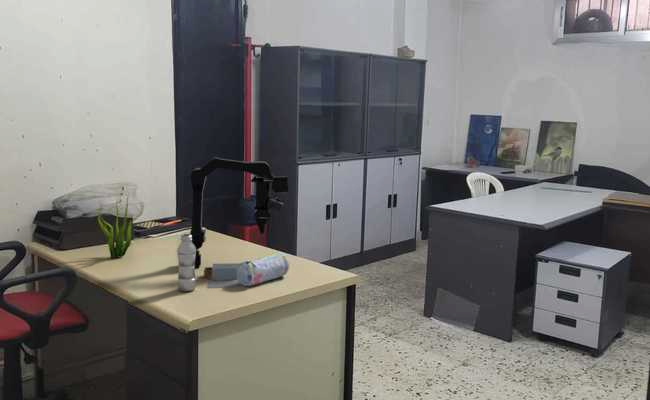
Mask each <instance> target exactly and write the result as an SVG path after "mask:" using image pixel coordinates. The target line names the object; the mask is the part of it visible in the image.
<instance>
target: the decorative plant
mask: <svg viewBox="0 0 650 400" xmlns="http://www.w3.org/2000/svg"><path fill="white" fill-rule="evenodd" d="M129 195H130V193H128V195H127V197H126V205H125V212H124V218H123V225H122V226H121V227H120V228H119V209H118V198H117V196H116V203H115V206H116V219H115V230H116V231H114V227H113V226H112V225H111V224H110V223H108V222H107V220H104V218H103V217H102V214H101V212H102V211H103V207H102V203H101V202H99V203H100V208H101V209H100V211H99V212H98V213H97V222H98V225H99V226H100V229H101V231H102V233H104V235H105V236H106V238H107V244H108V249H109V254H110V258H114V259H118V258H122V257H124V256H125V254H126V253H127V251H128V249H129V248H130V246H131V245H132V244H131V243H132V236H131V235H132V233H131V232H132V231H131V230H132V225H133V222H134V221H135V220H136V219H138V218H139V217H140V216H141V215H142V213H143V210H141V212H140V214H138V216H136V217H133V219H131V220H130V221H129V222H128V226H127V215H128V204H129ZM141 209H143V206H142V207H141ZM102 221H103V222H102ZM103 223H104V224H103ZM107 226H108V227H109V228H110V229H109V231H110V232H109V231H108V229H107ZM126 228H127V229H126ZM125 231H126V239H124V238H125V237H124V234H125ZM115 232H116V234H115ZM114 235H115V237H116V240H114ZM124 240H125V241H124Z"/></svg>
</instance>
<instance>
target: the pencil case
mask: <svg viewBox="0 0 650 400" xmlns="http://www.w3.org/2000/svg"><path fill="white" fill-rule="evenodd" d="M289 267H290V262H289V260H288V258H287V256H286V255H284V253H281V252H278V253H276V254H273V255H272V254H271V255H270V256H269V255H268V256H266V257H263V258H260V259H256V260H255V259H254V260H244V261H242V262H239V264H238V266H237V269H236V275H237V279H236V281H238V282H239V283H240V284H241V286H242V287H243V286H244V287H252V286H256V285H258V284H262V283H263V284H264V283H265V282H269V281H272V280H276V279H278V278H281V277H283V276H286V275H287V273H288V271H289V269H290V268H289Z"/></svg>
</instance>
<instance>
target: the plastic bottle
mask: <svg viewBox="0 0 650 400" xmlns="http://www.w3.org/2000/svg"><path fill="white" fill-rule="evenodd" d="M180 241H181V242H180V243H179V244H178V247H177V250H176V252H177V253H176V254H177V260H178V261H177V262H178V275H177V276H178V277H177V280H176V281H177V282H176V287H177V289H178V291H180V292H192V291H194V290H195V289H196V288H197V278H196V270H195V269H196V268H195V256H196V247H195V246H194V244H193V243H192V242H191V241H192V235H191V234H190V233H189V234H188V233H185V234H184V233H183V234H181V235H180Z"/></svg>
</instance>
